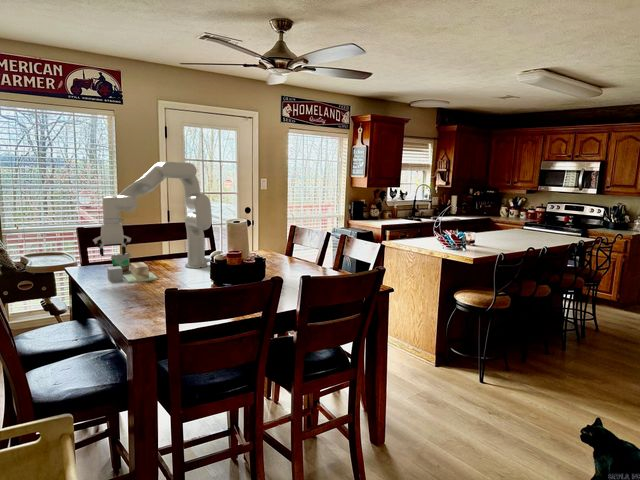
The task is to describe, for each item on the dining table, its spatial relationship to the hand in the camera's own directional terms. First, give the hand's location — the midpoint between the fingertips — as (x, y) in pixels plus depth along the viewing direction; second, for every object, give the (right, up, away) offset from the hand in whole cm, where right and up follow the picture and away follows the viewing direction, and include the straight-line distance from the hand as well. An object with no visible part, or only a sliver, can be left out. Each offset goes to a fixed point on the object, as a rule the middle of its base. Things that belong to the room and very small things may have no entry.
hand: (112, 255), depth 221 cm
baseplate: (+12, -12, +5) cm, 17 cm away
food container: (-3, -10, +19) cm, 22 cm away
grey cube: (0, -12, +2) cm, 13 cm away
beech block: (+12, -11, +5) cm, 17 cm away
